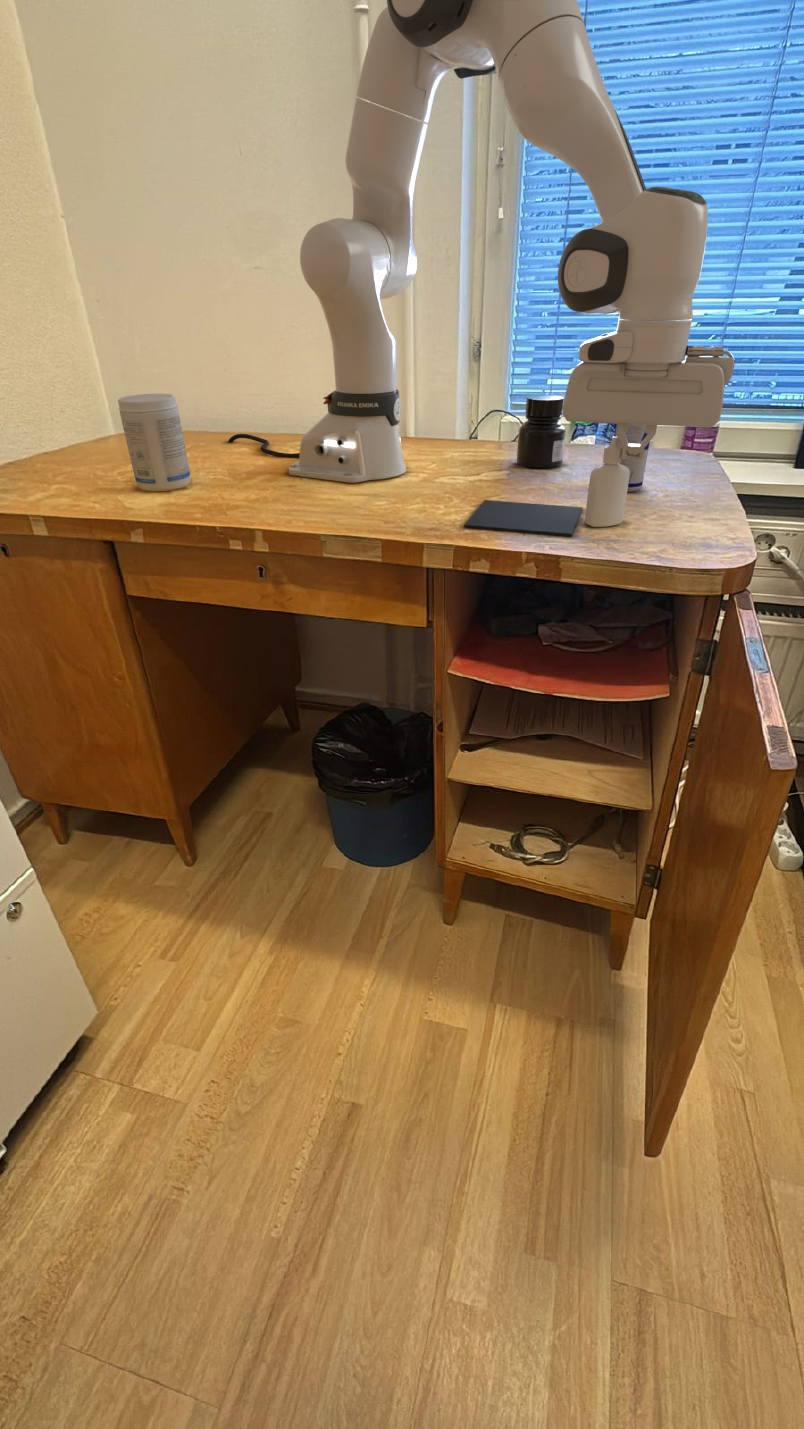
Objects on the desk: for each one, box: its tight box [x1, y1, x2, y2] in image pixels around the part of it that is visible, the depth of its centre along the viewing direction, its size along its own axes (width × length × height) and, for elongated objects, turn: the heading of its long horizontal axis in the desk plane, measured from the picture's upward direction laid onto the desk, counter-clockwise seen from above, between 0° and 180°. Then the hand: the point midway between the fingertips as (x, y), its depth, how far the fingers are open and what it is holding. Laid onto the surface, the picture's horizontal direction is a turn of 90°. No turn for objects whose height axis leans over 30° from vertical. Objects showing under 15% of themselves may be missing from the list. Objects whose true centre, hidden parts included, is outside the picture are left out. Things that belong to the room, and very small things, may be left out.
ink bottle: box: [516, 394, 566, 469], centre depth 131 cm, size 10×9×12 cm
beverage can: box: [614, 423, 651, 493], centre depth 114 cm, size 6×6×15 cm
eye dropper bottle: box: [584, 436, 630, 528], centre depth 98 cm, size 4×6×12 cm
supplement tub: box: [117, 393, 192, 492], centre depth 119 cm, size 10×10×15 cm
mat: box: [463, 499, 583, 538], centre depth 103 cm, size 16×14×1 cm
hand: (632, 458), depth 95 cm, fingers closed
